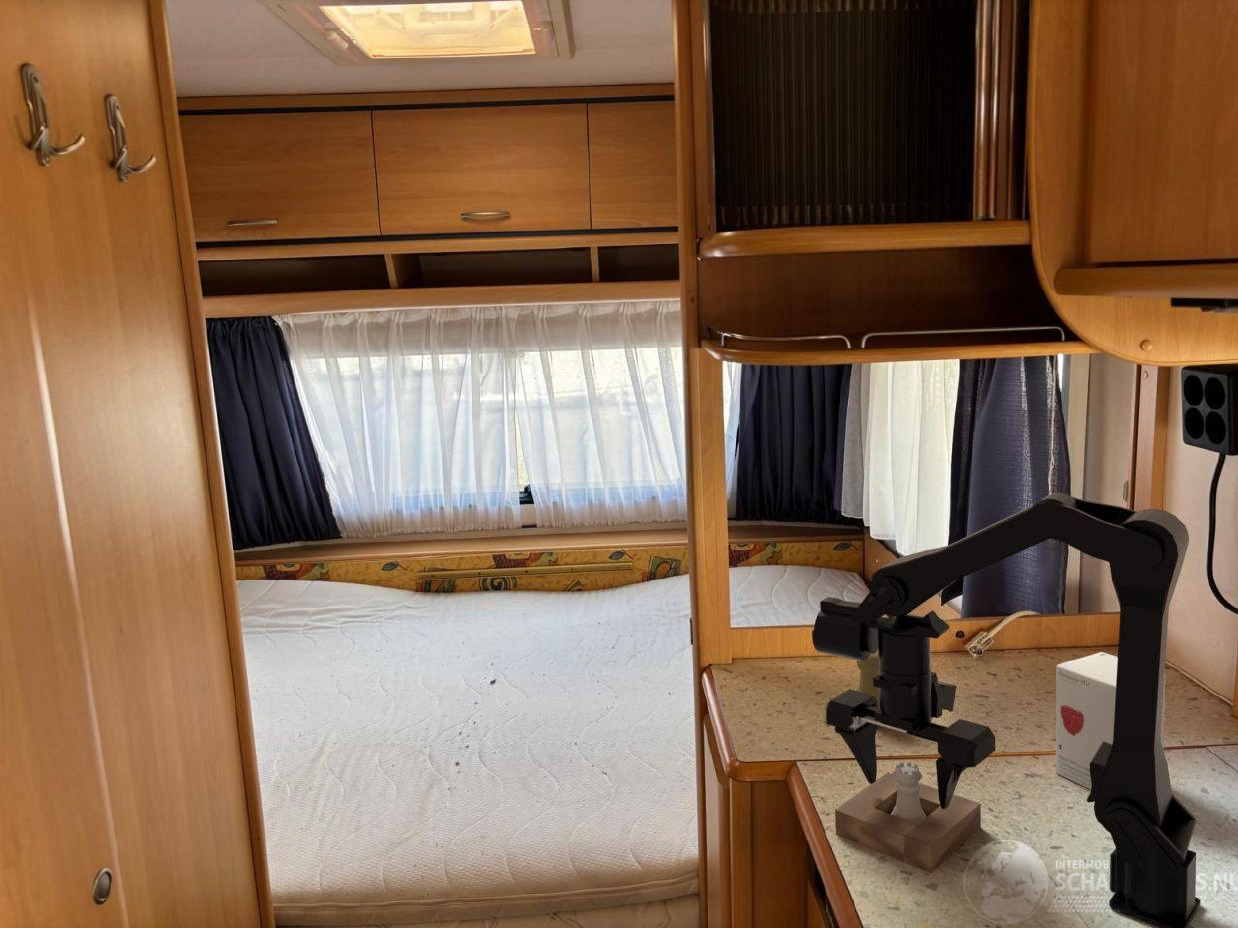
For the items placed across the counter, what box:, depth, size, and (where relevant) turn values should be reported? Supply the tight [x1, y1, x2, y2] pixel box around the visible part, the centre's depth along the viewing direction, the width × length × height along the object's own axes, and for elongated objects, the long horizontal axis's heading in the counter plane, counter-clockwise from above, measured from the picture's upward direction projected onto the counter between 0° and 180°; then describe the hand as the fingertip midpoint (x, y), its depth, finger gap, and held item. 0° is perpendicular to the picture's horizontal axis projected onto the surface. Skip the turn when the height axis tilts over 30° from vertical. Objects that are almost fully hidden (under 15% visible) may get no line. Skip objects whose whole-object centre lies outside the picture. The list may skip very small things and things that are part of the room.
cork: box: [856, 650, 884, 728], centre depth 134 cm, size 6×6×11 cm
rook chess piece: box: [891, 761, 926, 824], centre depth 103 cm, size 4×4×8 cm
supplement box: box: [1055, 651, 1167, 791], centre depth 112 cm, size 9×9×15 cm
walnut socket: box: [834, 771, 982, 873], centre depth 104 cm, size 12×12×3 cm
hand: (907, 794), depth 103 cm, fingers open, 9 cm apart
